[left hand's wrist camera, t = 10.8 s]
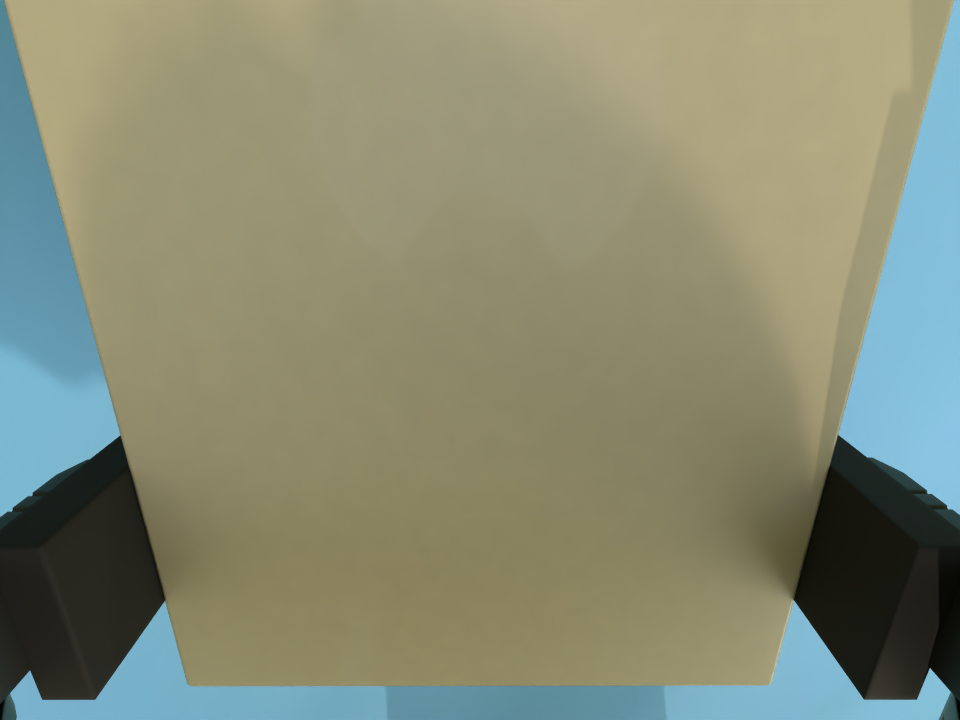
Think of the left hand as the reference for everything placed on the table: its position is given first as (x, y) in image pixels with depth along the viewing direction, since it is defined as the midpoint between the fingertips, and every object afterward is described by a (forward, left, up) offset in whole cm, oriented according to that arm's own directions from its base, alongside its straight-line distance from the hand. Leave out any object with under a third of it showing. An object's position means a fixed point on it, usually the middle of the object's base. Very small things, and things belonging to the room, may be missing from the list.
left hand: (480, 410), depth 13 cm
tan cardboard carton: (+2, -6, -5) cm, 8 cm away
